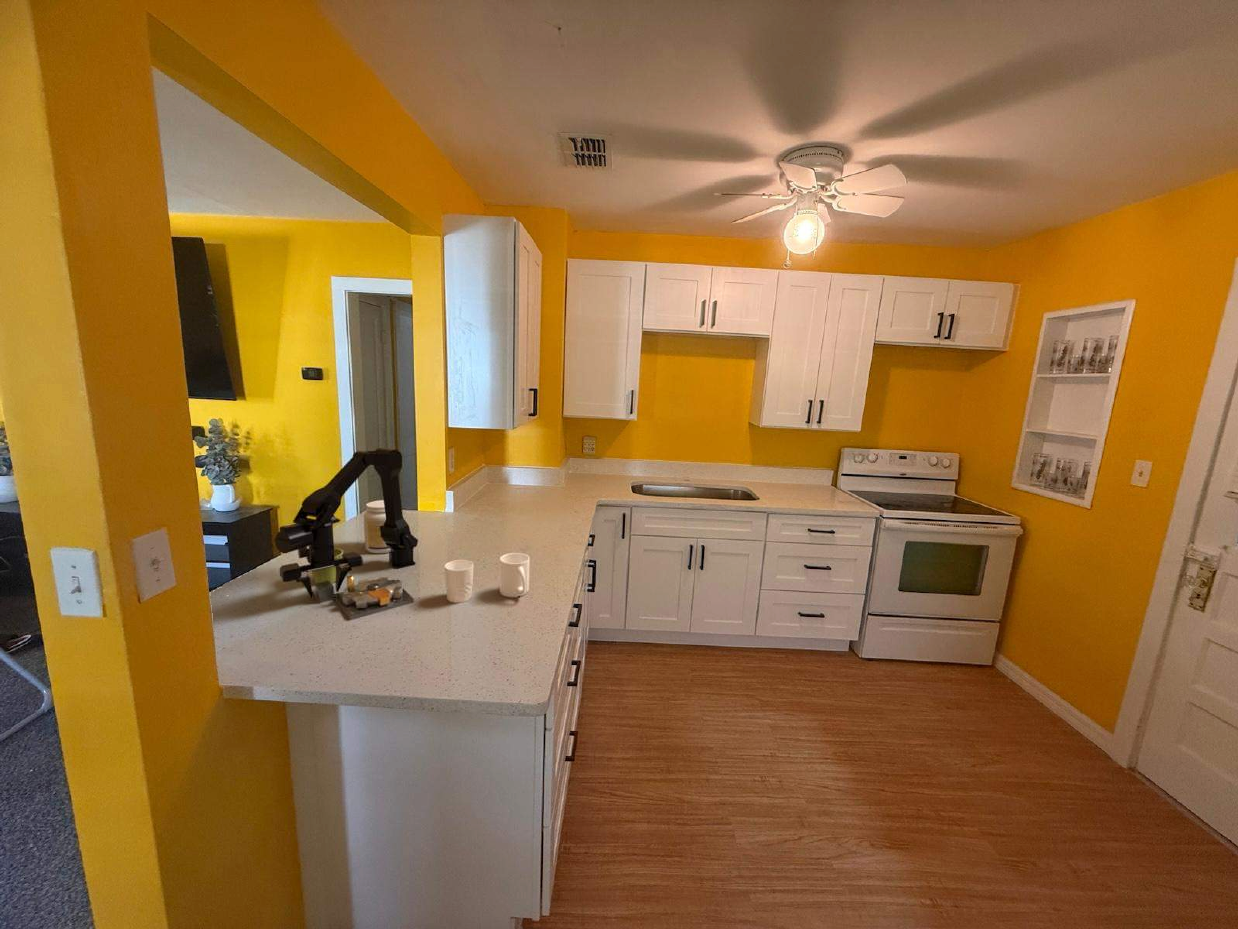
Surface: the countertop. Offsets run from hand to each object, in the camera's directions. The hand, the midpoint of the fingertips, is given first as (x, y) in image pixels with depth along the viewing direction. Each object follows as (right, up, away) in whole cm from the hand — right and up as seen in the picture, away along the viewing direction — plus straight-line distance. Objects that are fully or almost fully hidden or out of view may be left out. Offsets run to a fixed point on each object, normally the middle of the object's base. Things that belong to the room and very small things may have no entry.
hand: (324, 594), depth 128 cm
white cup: (+36, -2, +5) cm, 36 cm away
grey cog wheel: (+13, 0, +1) cm, 13 cm away
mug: (+52, -3, +9) cm, 52 cm away
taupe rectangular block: (0, -1, 0) cm, 1 cm away
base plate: (+13, -2, +1) cm, 13 cm away
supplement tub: (-3, +6, +39) cm, 39 cm away
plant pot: (-6, +1, +11) cm, 12 cm away
